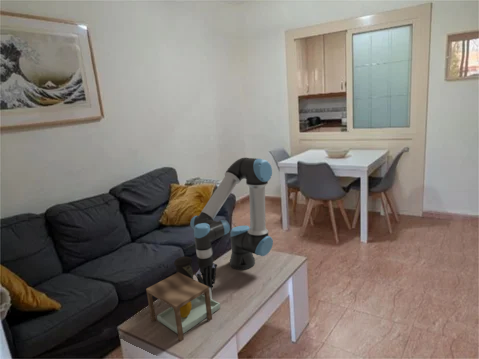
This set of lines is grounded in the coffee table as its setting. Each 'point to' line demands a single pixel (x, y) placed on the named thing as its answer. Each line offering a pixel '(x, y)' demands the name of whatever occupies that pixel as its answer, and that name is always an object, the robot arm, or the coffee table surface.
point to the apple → (185, 310)
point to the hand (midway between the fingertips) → (209, 299)
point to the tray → (192, 319)
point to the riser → (178, 296)
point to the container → (184, 266)
